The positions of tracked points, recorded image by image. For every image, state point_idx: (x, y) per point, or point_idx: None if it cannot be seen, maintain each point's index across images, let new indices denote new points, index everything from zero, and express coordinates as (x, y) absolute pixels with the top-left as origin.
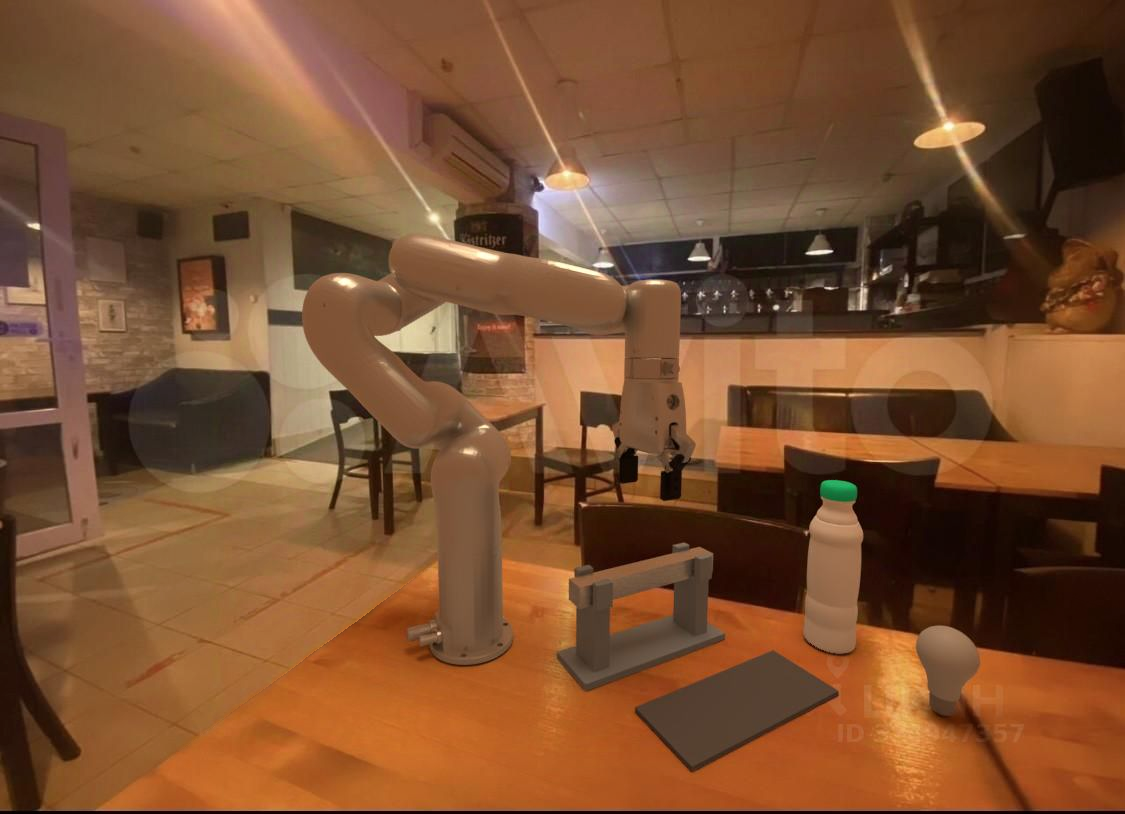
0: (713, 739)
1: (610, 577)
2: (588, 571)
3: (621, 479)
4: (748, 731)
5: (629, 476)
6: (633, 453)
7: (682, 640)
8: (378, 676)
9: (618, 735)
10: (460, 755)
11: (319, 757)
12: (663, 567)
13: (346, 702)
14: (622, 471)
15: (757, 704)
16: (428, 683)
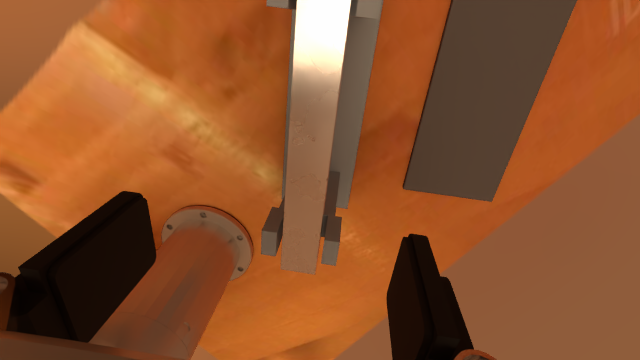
0: (491, 161)
1: (313, 223)
2: (277, 237)
3: (145, 270)
4: (517, 122)
5: (136, 247)
6: (30, 313)
7: (357, 45)
8: (227, 312)
9: (413, 216)
10: (346, 305)
11: (293, 354)
12: (335, 112)
13: (248, 334)
14: (125, 295)
15: (509, 73)
16: (256, 292)
